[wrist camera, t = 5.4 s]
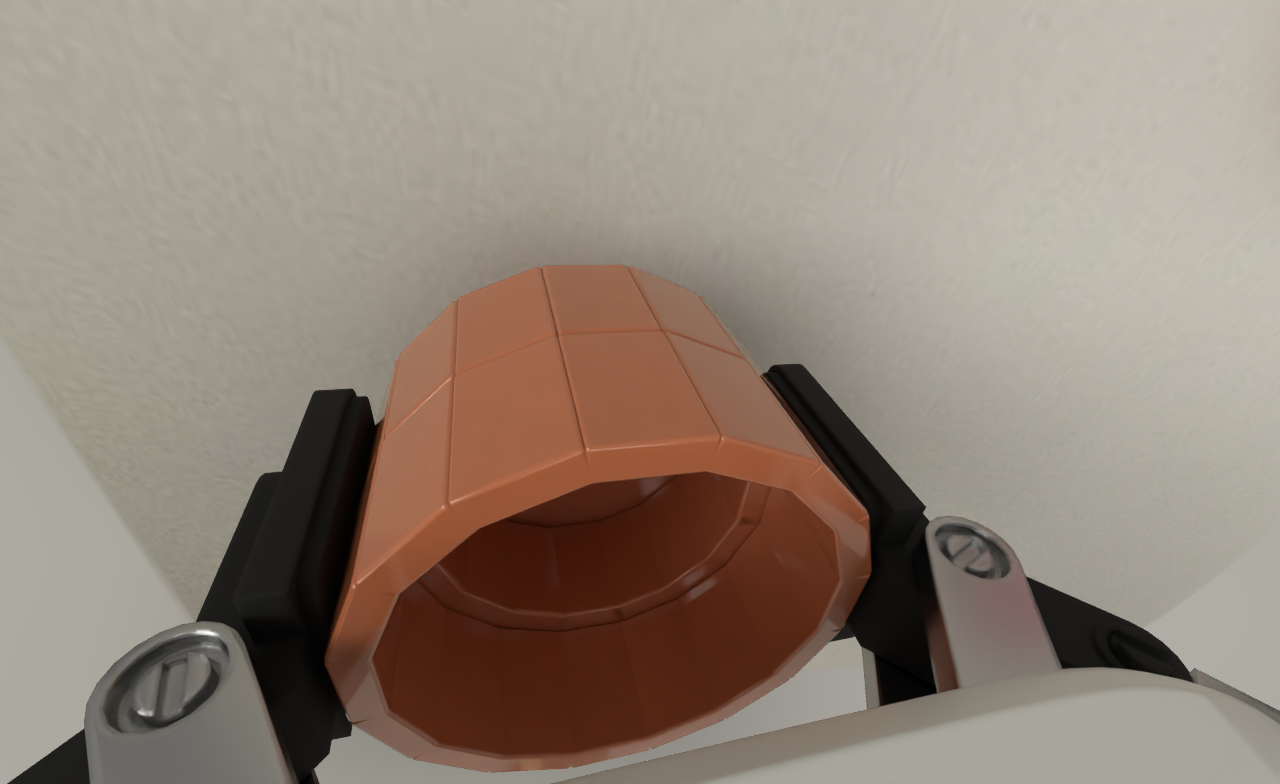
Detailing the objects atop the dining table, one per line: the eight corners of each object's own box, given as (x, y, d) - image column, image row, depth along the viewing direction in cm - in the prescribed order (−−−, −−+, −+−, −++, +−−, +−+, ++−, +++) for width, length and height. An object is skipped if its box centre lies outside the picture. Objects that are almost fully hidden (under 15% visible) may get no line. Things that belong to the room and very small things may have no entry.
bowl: (413, 550, 12) (386, 812, 8) (349, 249, 8) (239, 480, 4) (707, 513, 14) (797, 716, 10) (769, 249, 10) (956, 415, 6)
